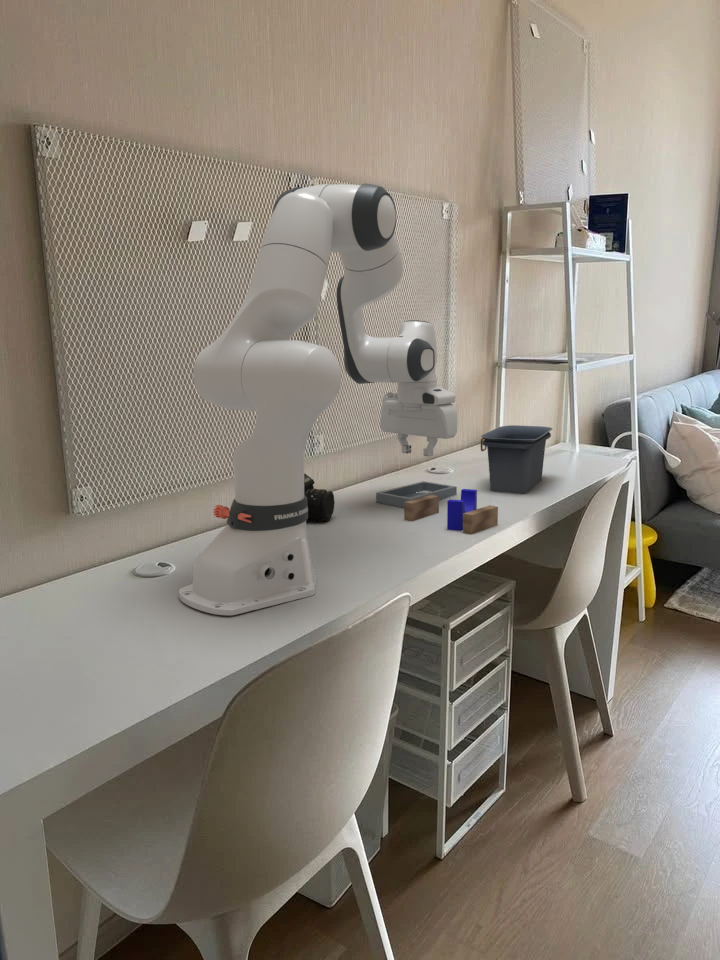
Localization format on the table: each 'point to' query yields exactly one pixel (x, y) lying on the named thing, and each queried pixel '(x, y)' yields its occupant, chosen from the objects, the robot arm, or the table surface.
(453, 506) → the blue curved block
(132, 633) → the table surface
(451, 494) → the slate tray
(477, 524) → the near walnut block
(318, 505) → the film camera
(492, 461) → the storage bin
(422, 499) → the far walnut block
